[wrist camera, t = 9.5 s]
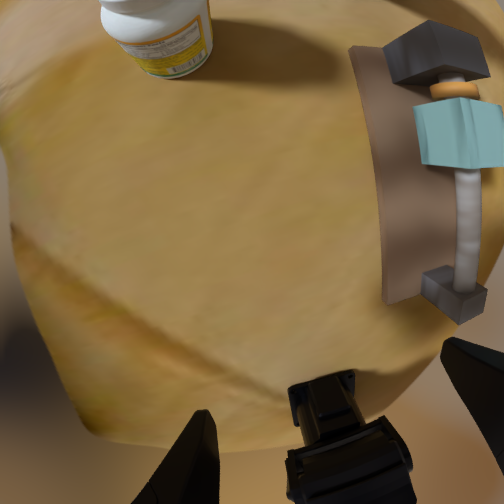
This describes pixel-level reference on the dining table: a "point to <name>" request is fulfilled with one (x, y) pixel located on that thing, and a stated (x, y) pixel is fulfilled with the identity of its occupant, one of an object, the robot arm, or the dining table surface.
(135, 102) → the dining table surface
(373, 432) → the robot arm
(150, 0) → the supplement bottle
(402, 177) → the rod stand
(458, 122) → the sleeve
